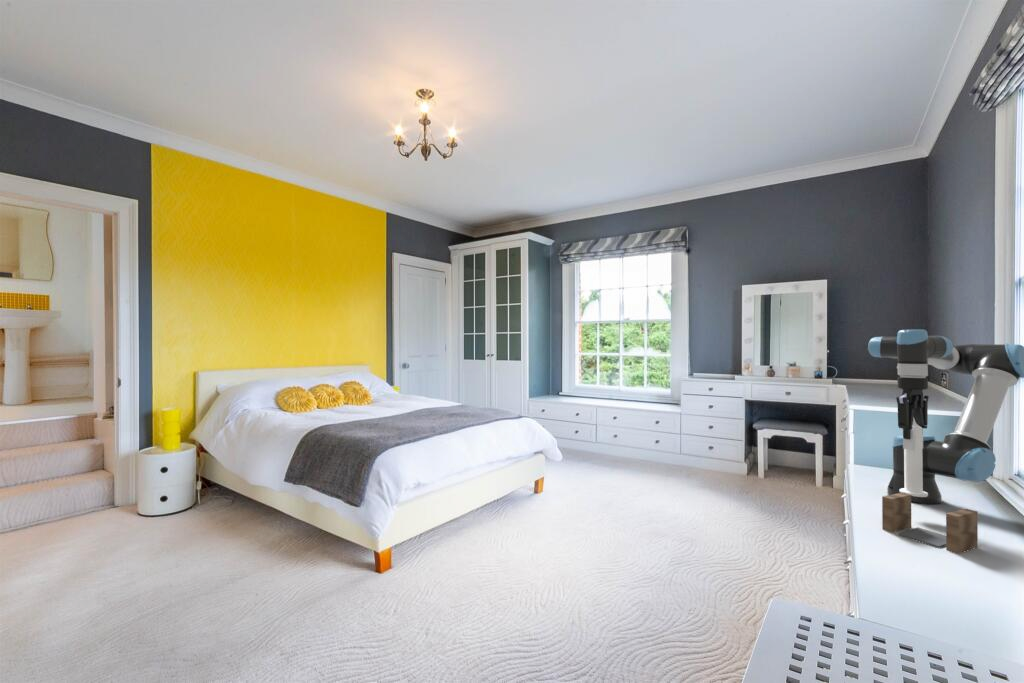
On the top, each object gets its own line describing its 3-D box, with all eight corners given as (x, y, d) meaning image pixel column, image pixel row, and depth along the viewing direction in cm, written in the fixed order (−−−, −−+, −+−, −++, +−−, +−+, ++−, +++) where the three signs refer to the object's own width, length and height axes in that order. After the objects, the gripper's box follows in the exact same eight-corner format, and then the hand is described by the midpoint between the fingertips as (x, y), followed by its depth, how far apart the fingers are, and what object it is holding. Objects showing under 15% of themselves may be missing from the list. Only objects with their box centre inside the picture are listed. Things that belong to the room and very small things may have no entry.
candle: (933, 497, 147) (932, 418, 147) (908, 496, 148) (907, 418, 148) (918, 491, 153) (918, 415, 154) (894, 489, 155) (893, 414, 155)
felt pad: (918, 528, 141) (918, 527, 141) (960, 541, 132) (960, 539, 132) (896, 534, 137) (896, 532, 137) (938, 547, 128) (938, 546, 128)
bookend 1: (901, 524, 145) (901, 492, 145) (911, 527, 142) (911, 494, 143) (882, 529, 141) (882, 496, 141) (891, 532, 138) (891, 498, 139)
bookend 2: (966, 544, 130) (965, 508, 131) (977, 547, 128) (977, 511, 128) (946, 550, 127) (946, 513, 127) (958, 553, 124) (957, 516, 124)
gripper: (914, 375, 158) (914, 444, 158) (883, 376, 151) (883, 448, 151) (941, 376, 151) (942, 448, 151) (910, 378, 144) (911, 453, 144)
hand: (913, 448), depth 151 cm, fingers closed on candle, 4 cm apart
